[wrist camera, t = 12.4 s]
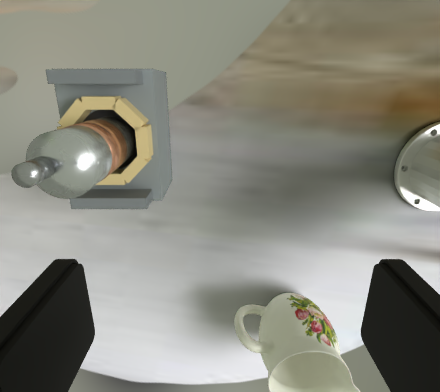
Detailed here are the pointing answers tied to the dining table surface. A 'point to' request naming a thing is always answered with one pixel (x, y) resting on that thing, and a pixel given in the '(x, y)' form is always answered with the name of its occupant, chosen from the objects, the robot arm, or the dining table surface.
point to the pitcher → (296, 346)
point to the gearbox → (133, 115)
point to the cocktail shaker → (76, 157)
